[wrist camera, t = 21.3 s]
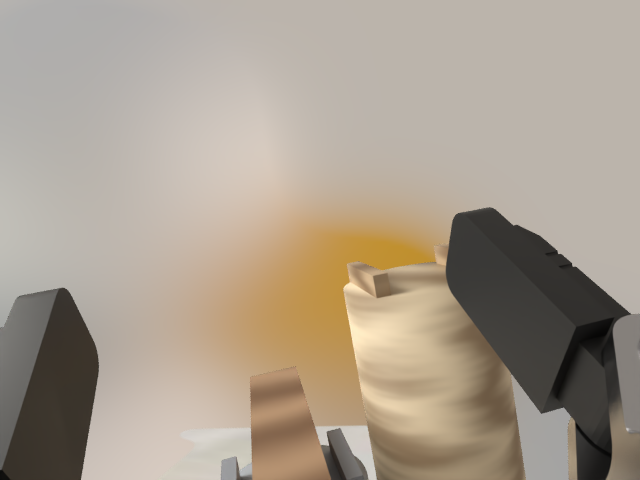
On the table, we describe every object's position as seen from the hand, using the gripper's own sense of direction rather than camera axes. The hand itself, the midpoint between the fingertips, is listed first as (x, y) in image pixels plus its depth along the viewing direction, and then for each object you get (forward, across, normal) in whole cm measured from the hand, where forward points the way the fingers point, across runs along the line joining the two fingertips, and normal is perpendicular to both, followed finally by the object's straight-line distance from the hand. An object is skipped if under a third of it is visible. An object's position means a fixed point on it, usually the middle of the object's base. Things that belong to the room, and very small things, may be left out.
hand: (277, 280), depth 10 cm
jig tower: (0, -12, +44) cm, 45 cm away
